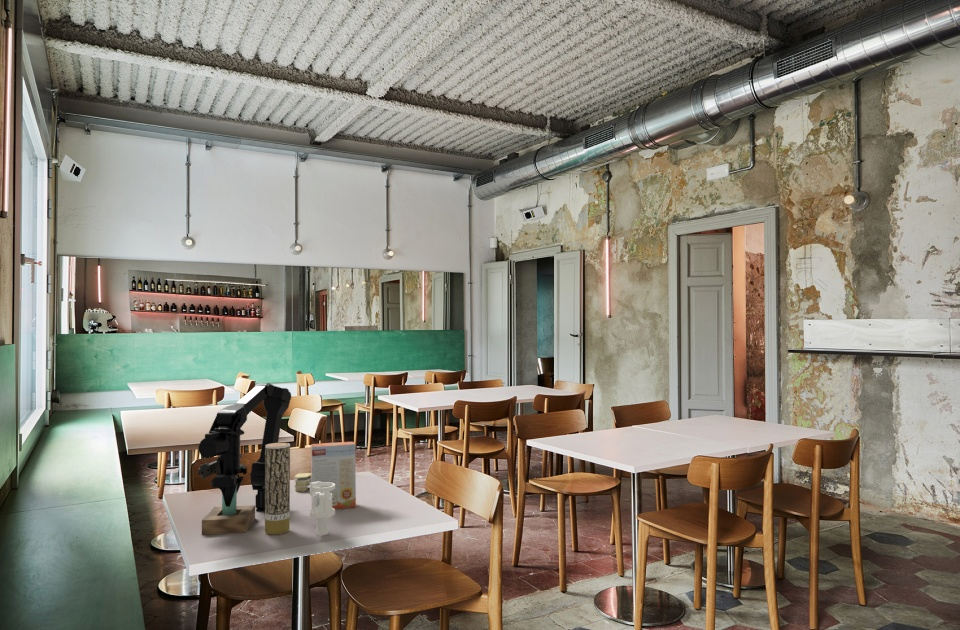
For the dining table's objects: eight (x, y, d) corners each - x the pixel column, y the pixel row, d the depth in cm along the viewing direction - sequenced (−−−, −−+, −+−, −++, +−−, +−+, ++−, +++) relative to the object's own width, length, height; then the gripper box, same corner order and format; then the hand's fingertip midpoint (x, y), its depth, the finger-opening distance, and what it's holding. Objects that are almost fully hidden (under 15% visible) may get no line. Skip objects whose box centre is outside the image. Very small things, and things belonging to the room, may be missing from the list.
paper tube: (260, 531, 186) (261, 444, 187) (282, 526, 191) (282, 441, 191) (271, 537, 181) (272, 447, 182) (293, 531, 186) (294, 444, 187)
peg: (237, 515, 194) (237, 482, 194) (234, 519, 190) (234, 485, 190) (223, 516, 194) (224, 482, 194) (220, 520, 190) (220, 486, 190)
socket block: (255, 518, 200) (255, 505, 200) (245, 532, 186) (245, 518, 186) (214, 520, 198) (214, 507, 198) (201, 534, 184) (201, 520, 184)
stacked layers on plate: (311, 493, 231) (311, 478, 231) (286, 493, 232) (286, 478, 232) (319, 487, 241) (319, 472, 241) (295, 486, 242) (296, 472, 242)
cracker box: (353, 503, 217) (353, 440, 217) (356, 507, 211) (356, 443, 212) (310, 506, 213) (311, 443, 213) (311, 511, 207) (312, 446, 207)
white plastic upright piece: (305, 533, 185) (305, 480, 185) (328, 528, 189) (328, 477, 189) (315, 539, 179) (315, 485, 179) (339, 534, 183) (339, 481, 184)
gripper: (209, 447, 200) (209, 497, 200) (192, 458, 182) (191, 514, 182) (247, 445, 202) (247, 496, 202) (233, 457, 184) (233, 512, 183)
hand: (229, 504), depth 192 cm, fingers closed on peg, 4 cm apart
